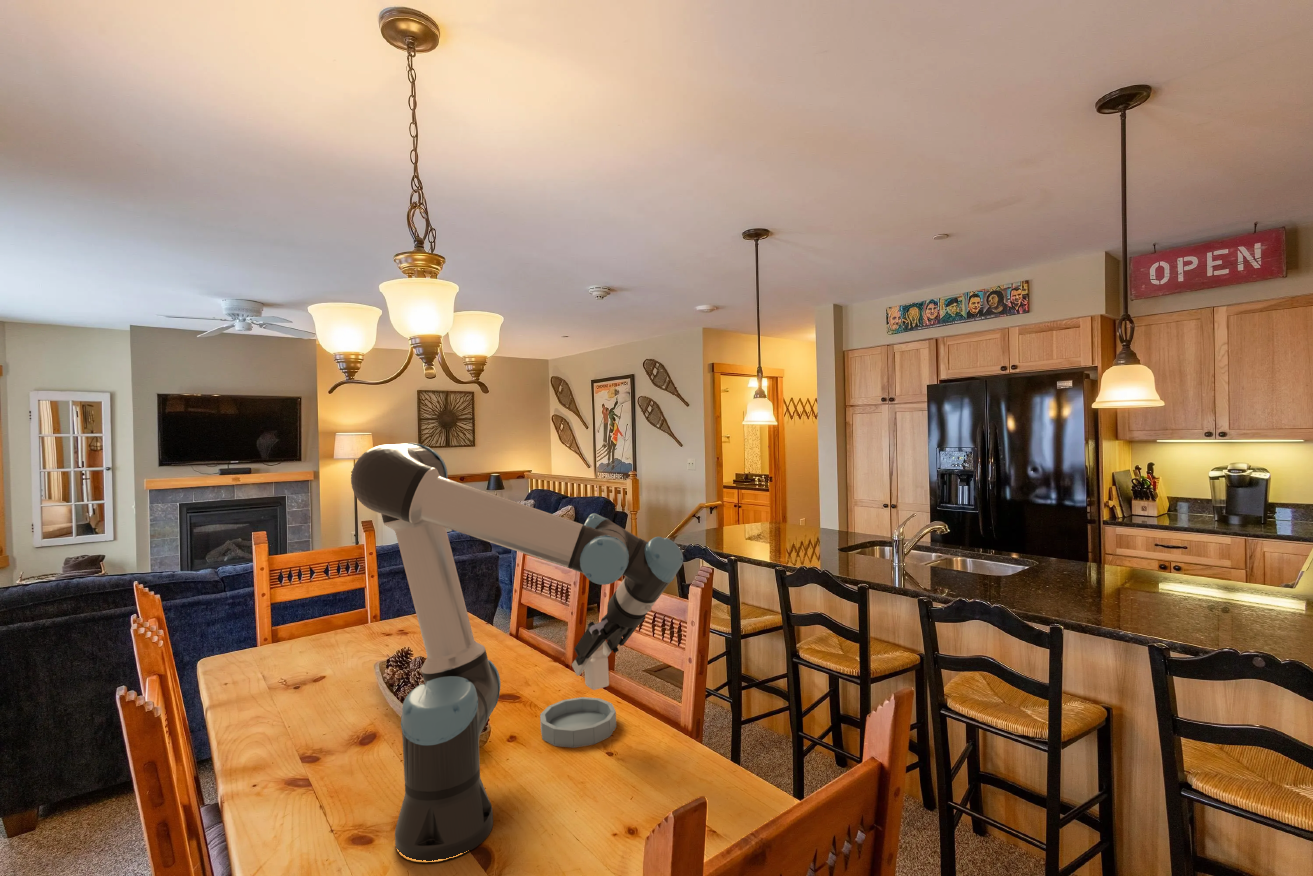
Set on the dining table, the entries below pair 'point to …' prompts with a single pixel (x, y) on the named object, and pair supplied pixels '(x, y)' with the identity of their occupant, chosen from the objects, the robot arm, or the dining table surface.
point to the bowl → (578, 722)
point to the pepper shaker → (597, 670)
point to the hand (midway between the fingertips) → (585, 666)
